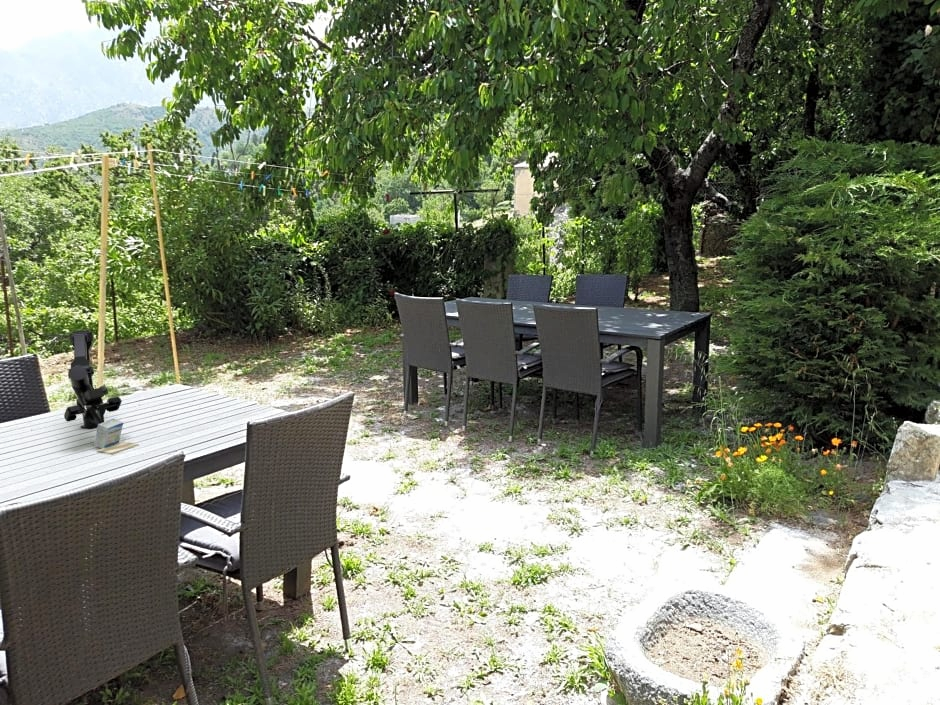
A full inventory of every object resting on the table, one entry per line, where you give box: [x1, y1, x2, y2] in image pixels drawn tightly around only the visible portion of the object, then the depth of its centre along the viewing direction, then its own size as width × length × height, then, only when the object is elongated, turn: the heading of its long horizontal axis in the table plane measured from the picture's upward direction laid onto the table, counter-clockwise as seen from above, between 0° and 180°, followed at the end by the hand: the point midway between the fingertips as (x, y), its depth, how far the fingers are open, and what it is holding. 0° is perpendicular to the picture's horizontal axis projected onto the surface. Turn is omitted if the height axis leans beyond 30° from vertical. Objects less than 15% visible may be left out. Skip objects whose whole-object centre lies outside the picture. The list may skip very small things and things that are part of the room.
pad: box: [96, 441, 140, 456], centre depth 250 cm, size 8×11×1 cm
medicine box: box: [93, 418, 124, 449], centre depth 252 cm, size 8×4×9 cm, turn 166°
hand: (103, 426), depth 252 cm, fingers closed
